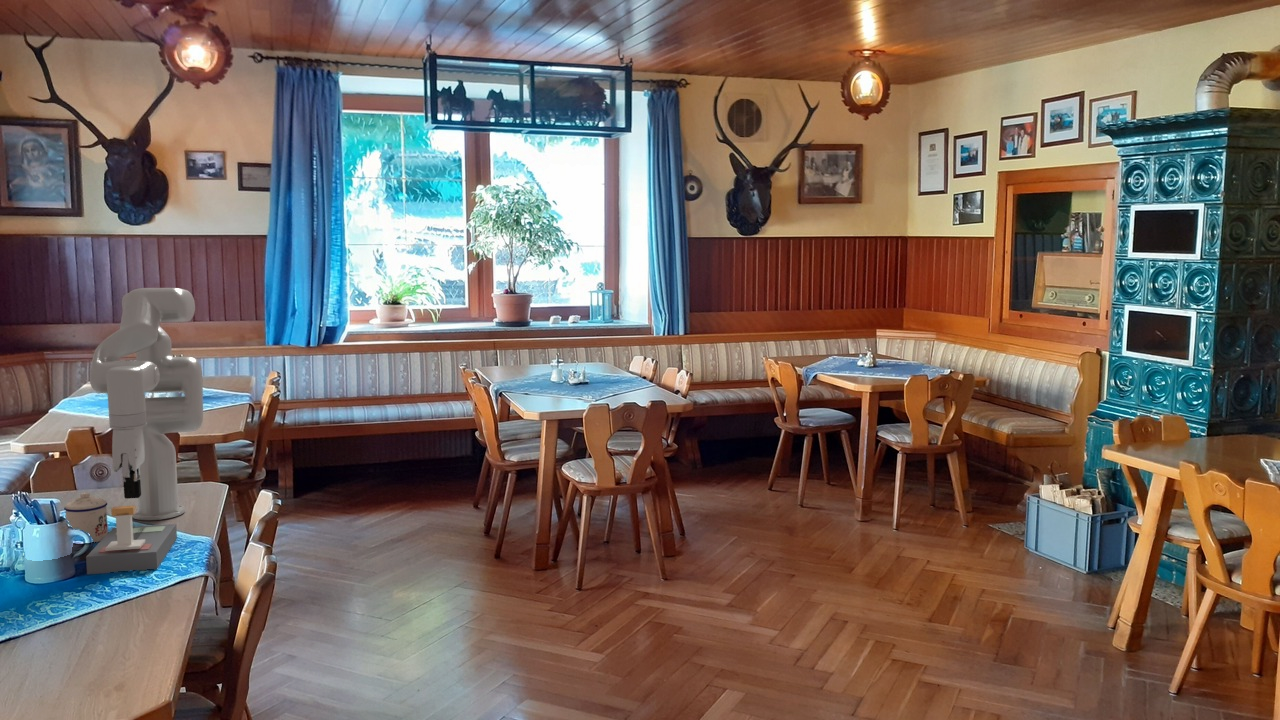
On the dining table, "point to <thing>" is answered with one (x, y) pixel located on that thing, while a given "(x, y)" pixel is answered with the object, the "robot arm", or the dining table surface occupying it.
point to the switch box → (133, 550)
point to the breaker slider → (124, 529)
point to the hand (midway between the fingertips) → (132, 497)
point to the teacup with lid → (88, 515)
